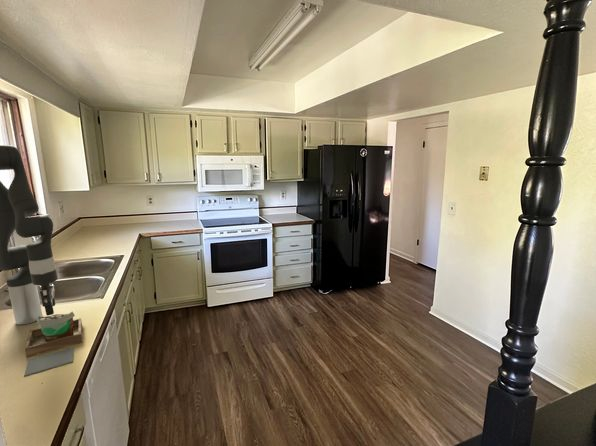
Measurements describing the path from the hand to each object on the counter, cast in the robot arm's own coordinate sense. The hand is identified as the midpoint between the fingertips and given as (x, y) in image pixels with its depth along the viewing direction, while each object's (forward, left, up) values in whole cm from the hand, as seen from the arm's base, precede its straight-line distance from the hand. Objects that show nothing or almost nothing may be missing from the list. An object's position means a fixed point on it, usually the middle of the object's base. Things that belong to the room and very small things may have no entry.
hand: (51, 310), depth 121 cm
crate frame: (0, 0, -13) cm, 13 cm away
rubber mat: (+15, -1, -13) cm, 20 cm away
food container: (0, 0, -13) cm, 13 cm away
